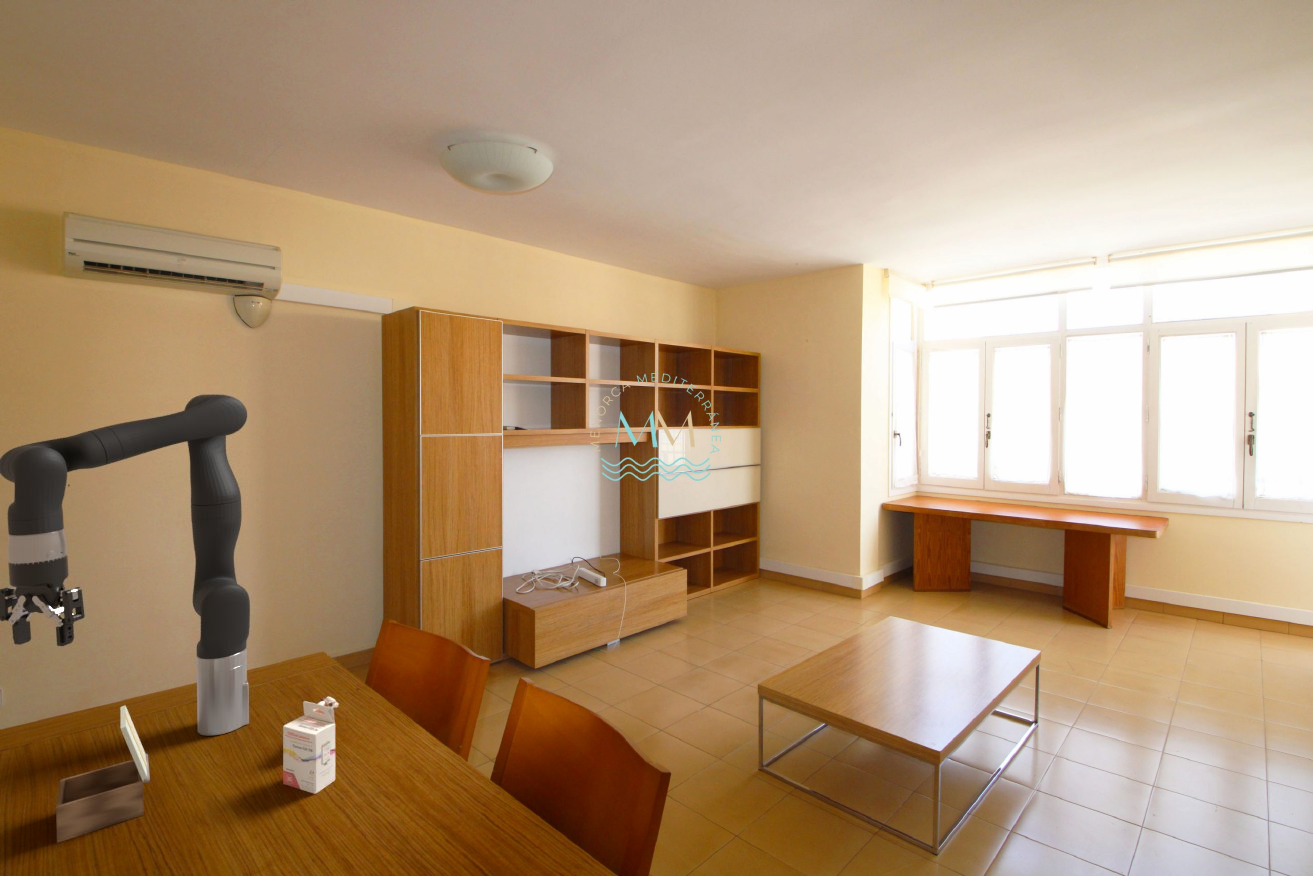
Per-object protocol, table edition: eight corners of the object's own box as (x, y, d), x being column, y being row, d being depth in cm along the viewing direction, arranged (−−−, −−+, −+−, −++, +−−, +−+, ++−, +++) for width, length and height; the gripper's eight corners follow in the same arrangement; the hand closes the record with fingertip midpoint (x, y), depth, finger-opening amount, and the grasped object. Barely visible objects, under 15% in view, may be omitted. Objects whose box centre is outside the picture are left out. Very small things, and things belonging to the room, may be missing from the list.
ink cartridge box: (281, 785, 118) (280, 710, 117) (303, 771, 122) (303, 699, 122) (315, 795, 115) (314, 718, 114) (336, 780, 120) (336, 706, 119)
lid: (142, 759, 116) (148, 756, 116) (143, 784, 108) (150, 781, 109) (120, 707, 113) (126, 704, 114) (120, 728, 106) (127, 725, 106)
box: (142, 788, 116) (141, 757, 116) (143, 815, 108) (143, 782, 108) (61, 812, 109) (60, 779, 108) (57, 843, 101) (56, 807, 101)
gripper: (95, 552, 113) (100, 637, 114) (26, 550, 115) (31, 634, 116) (51, 562, 106) (57, 654, 107) (-22, 560, 107) (-16, 650, 108)
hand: (43, 643), depth 111 cm, fingers open, 8 cm apart
